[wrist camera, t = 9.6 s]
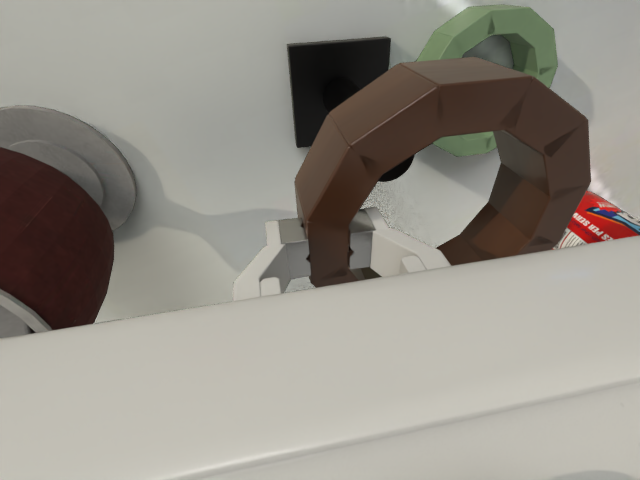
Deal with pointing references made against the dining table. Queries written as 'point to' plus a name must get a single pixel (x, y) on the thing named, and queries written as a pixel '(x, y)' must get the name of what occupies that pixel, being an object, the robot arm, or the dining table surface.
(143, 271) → the dining table surface
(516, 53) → the green ring
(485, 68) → the walnut ring
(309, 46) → the rack post
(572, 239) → the soda can
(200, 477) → the robot arm
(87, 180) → the mate gourd
